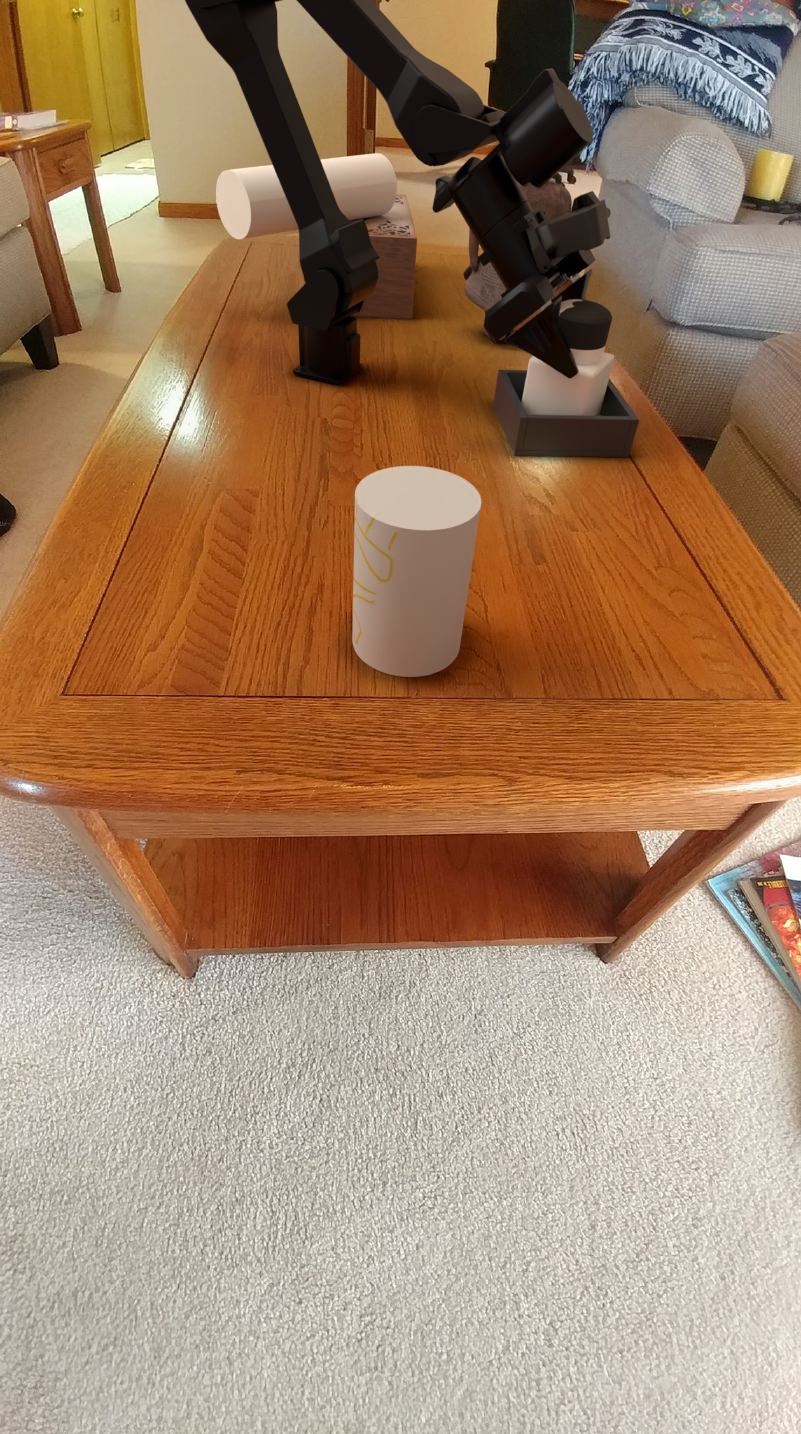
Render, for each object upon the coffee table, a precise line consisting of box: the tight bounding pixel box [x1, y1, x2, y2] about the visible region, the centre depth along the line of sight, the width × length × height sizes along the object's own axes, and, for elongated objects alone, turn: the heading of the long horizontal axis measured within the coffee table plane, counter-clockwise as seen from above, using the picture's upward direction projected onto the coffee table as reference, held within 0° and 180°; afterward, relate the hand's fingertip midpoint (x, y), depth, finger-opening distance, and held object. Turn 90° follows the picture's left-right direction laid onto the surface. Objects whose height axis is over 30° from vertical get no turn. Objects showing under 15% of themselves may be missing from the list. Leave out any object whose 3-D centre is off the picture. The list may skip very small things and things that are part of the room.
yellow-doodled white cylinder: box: [351, 465, 482, 678], centre depth 53 cm, size 8×8×12 cm
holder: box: [492, 369, 640, 458], centre depth 83 cm, size 13×13×4 cm
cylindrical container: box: [215, 152, 398, 240], centre depth 99 cm, size 7×7×25 cm
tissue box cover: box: [350, 193, 418, 320], centre depth 113 cm, size 26×14×10 cm, turn 3°
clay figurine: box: [462, 180, 573, 341], centre depth 96 cm, size 13×10×25 cm
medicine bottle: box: [521, 299, 615, 416], centre depth 80 cm, size 7×7×12 cm
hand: (584, 363), depth 79 cm, fingers closed on medicine bottle, 7 cm apart
